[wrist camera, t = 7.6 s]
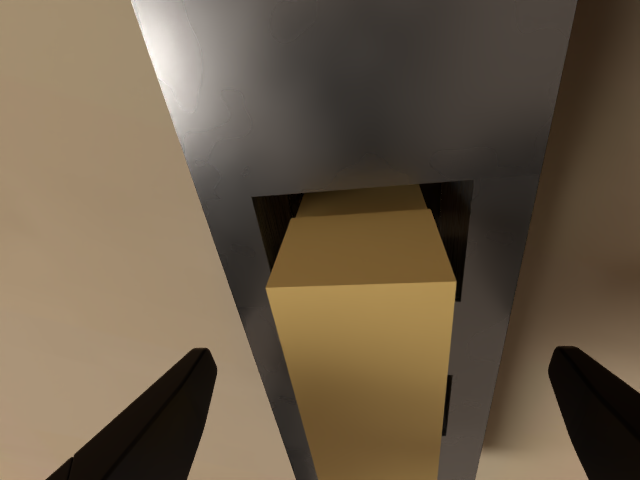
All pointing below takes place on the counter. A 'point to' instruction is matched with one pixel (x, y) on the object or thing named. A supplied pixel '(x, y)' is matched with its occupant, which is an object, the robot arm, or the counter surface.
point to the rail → (367, 151)
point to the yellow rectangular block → (366, 330)
